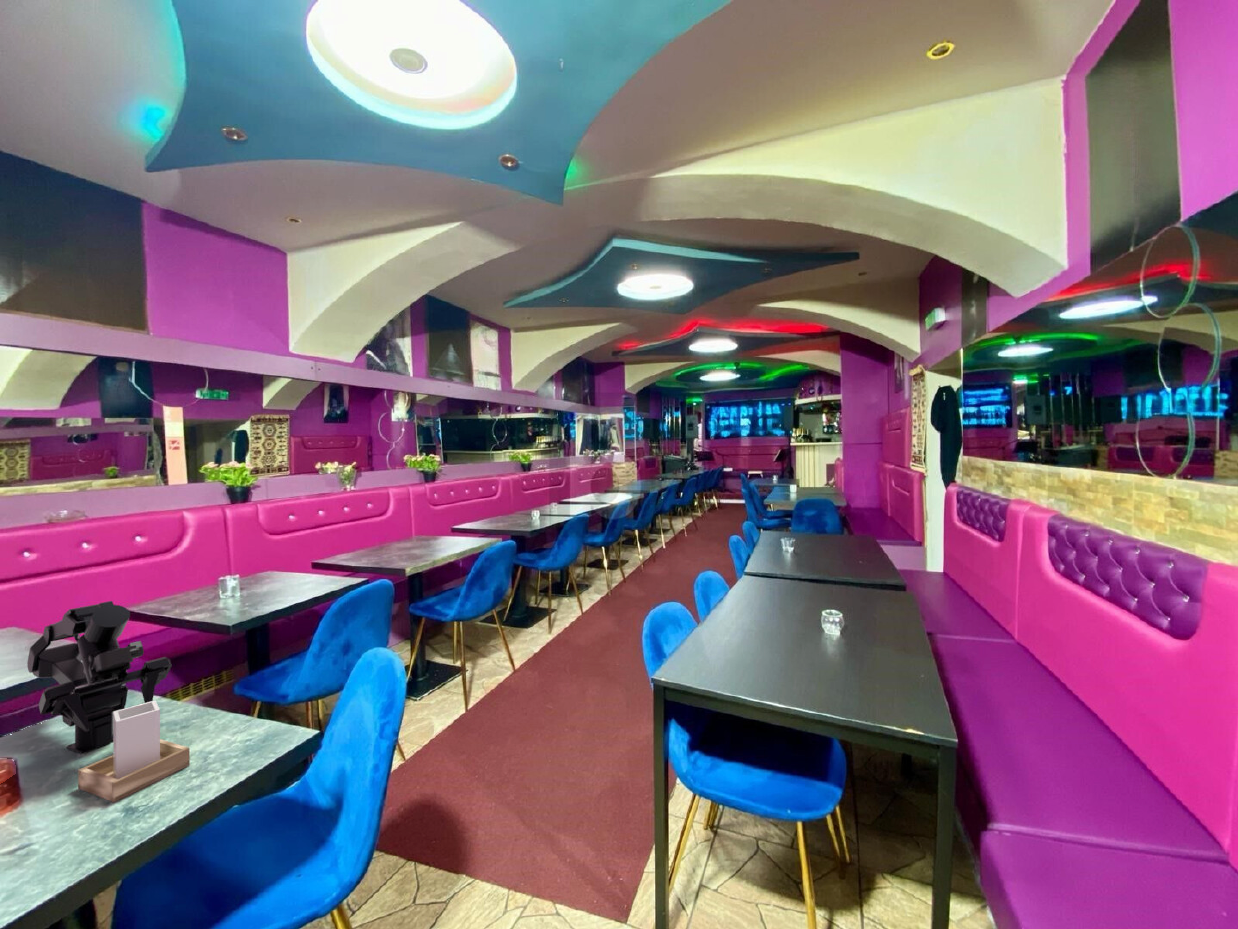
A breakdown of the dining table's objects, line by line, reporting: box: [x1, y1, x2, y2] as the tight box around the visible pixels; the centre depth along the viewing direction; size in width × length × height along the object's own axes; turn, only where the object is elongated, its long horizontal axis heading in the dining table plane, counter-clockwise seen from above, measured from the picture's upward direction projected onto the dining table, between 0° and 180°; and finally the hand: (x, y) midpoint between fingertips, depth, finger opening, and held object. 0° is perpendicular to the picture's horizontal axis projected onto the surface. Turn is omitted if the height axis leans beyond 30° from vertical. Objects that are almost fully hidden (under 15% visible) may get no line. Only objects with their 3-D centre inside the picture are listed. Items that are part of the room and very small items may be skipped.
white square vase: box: [112, 699, 161, 779], centre depth 96 cm, size 6×6×12 cm
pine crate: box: [77, 738, 191, 803], centre depth 95 cm, size 12×12×4 cm
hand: (119, 719), depth 100 cm, fingers open, 9 cm apart
